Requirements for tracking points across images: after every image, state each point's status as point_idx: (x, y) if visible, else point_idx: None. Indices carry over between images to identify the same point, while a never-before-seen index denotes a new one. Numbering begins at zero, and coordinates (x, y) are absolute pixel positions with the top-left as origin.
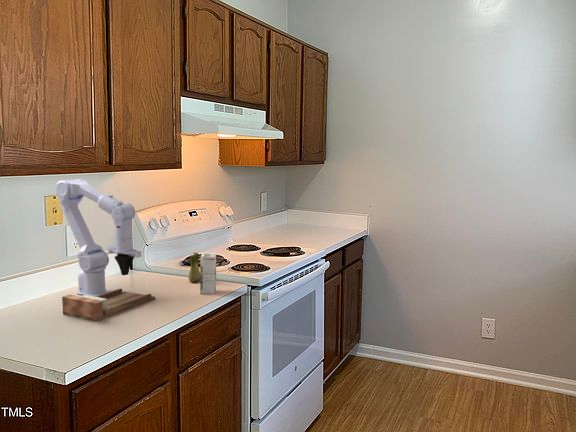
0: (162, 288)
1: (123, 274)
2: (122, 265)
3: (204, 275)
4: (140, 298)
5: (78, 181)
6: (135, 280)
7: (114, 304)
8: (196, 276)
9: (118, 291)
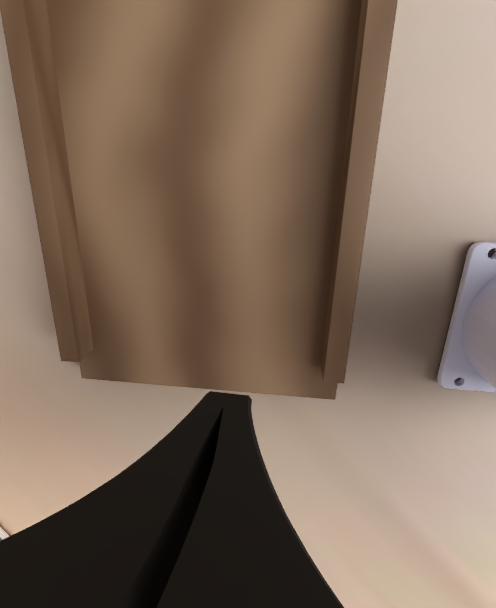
0: None
1: (217, 395)
2: (167, 470)
3: None
4: (45, 255)
5: None
6: (447, 601)
7: (164, 114)
8: None
9: (326, 343)
